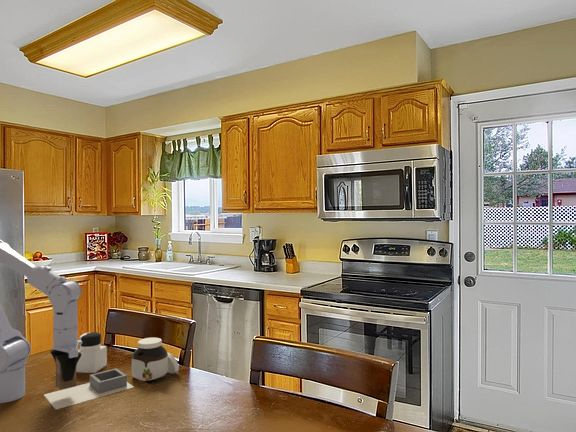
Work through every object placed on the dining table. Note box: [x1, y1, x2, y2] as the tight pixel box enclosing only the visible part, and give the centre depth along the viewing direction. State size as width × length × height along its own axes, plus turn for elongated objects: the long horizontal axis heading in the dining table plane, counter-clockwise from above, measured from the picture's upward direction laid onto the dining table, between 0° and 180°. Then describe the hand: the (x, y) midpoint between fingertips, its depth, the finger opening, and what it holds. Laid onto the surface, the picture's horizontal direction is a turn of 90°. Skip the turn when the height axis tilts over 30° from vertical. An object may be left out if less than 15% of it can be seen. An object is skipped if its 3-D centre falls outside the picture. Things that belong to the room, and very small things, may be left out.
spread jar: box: [131, 337, 179, 384], centre depth 130 cm, size 12×11×12 cm
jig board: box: [43, 368, 135, 410], centre depth 117 cm, size 20×12×4 cm, turn 133°
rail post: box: [55, 358, 77, 391], centre depth 113 cm, size 4×4×8 cm
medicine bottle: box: [76, 331, 108, 374], centre depth 135 cm, size 7×7×12 cm
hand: (65, 378), depth 113 cm, fingers closed on rail post, 4 cm apart
